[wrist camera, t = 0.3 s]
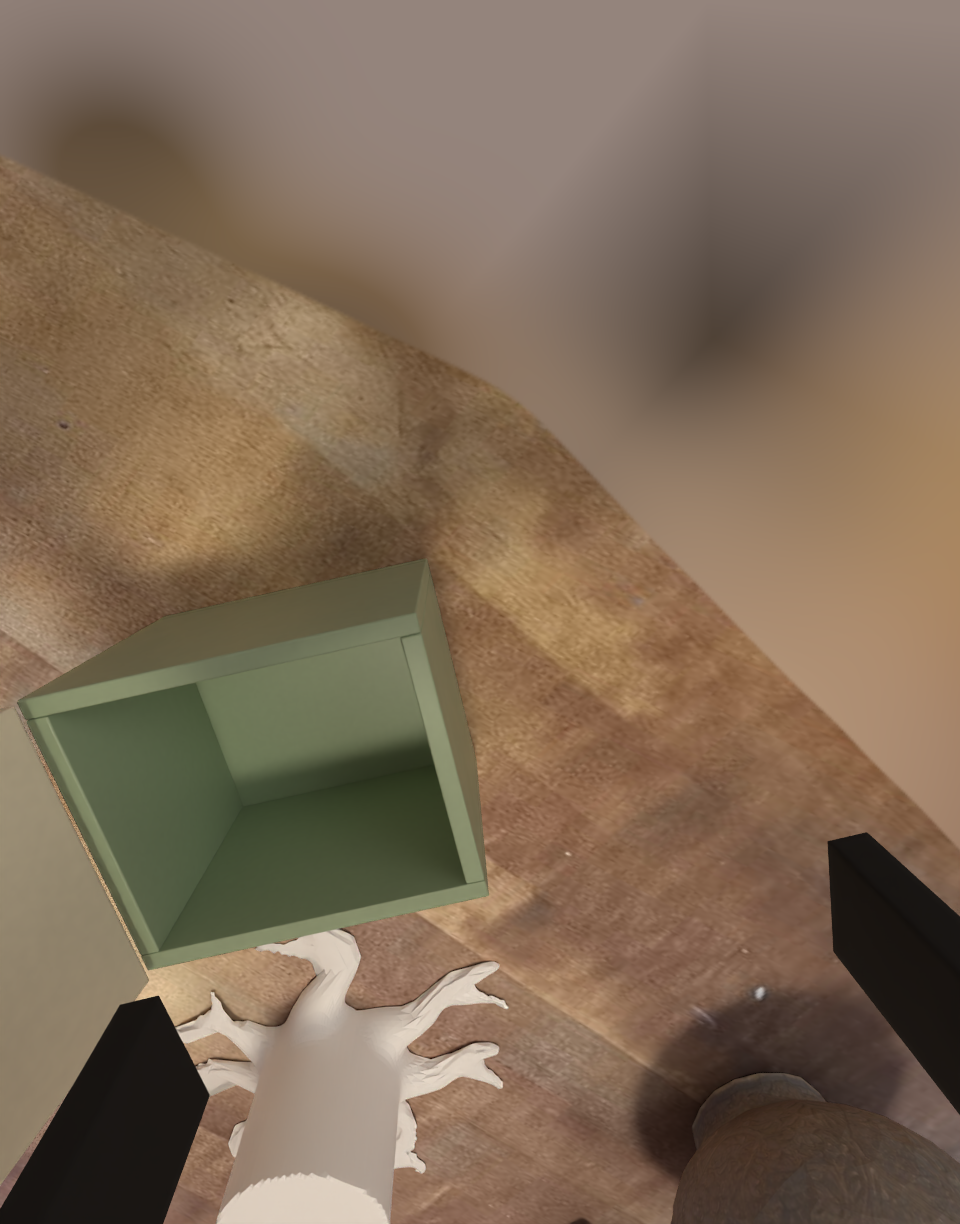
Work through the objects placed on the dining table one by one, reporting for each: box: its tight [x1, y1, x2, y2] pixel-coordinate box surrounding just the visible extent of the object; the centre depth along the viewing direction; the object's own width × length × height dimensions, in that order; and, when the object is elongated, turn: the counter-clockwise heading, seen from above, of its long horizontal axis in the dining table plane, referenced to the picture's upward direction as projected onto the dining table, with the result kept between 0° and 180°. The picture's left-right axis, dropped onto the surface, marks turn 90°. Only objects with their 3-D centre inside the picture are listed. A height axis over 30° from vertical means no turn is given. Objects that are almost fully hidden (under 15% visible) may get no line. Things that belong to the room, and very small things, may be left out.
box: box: [17, 558, 489, 970], centre depth 27 cm, size 15×13×11 cm
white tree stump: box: [175, 929, 509, 1224], centre depth 35 cm, size 23×25×9 cm
